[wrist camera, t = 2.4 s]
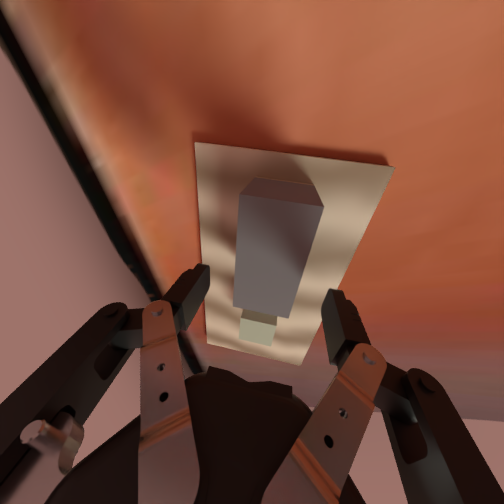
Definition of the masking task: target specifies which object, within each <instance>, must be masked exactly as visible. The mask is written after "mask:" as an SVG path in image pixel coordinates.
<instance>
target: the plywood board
mask: <svg viewBox="0 0 504 504" xmlns="http://www.w3.org/2000/svg"><path fill="white" fill-rule="evenodd" d="M195 158H196V173H197V189H198V205H199V221H200V236H201V252H202V264H206V265H209V266H210V288H209V290H208V292H207V294H206V296H205V298H204V299H205V315H206V331H207V343H209V344H213V345H217V346H221V347H225V348H229V349H233V350H238V351H242V352H246V353H250V354H254V355H258V356H262V357H266V358H270V359H275V360H279V361H283V362H287V363H291V364H295V365H299V366H300V365H301V363H302V361H303V359H304V357H305V355H306V353H307V351H308V348H309V346H310V344H311V342H312V340H313V338H314V336H315V334H316V332H317V330H318V328H319V326H320V323H321V321H322V317H321V306H322V303H323V301H324V299H325V296H326V294H327V292H328V289H329V288H332V289H337V288H338V286H339V284H340V282H341V280H342V278H343V276H344V274H345V271H346V269H347V267H348V265H349V263H350V261H351V259H352V257H353V255H354V253H355V251H356V249H357V246H358V244H359V242H360V240H361V238H362V236H363V234H364V232H365V230H366V228H367V226H368V224H369V222H370V219H371V217H372V215H373V213H374V211H375V209H376V207H377V205H378V203H379V201H380V199H381V197H382V194H383V192H384V190H385V188H386V186H387V184H388V182H389V180H390V178H391V176H392V174H393V172H394V170H395V167H392V166H388V165H380V164H372V163H364V162H356V161H348V160H340V159H332V158H324V157H316V156H308V155H300V154H292V153H284V152H276V151H268V150H260V149H252V148H244V147H236V146H228V145H220V144H212V143H204V142H195ZM256 176H257V177H264V178H271V179H279V180H286V181H293V182H300V183H307V184H314V185H315V188H316V190H317V192H318V194H319V196H320V199H321V201H322V203H323V205H324V210H323V213H322V216H321V219H320V222H319V225H318V228H317V231H316V235H315V238H314V241H313V244H312V247H311V250H310V253H309V256H308V259H307V263H306V266H305V269H304V272H303V275H302V278H301V281H300V284H299V287H298V291H297V294H296V297H295V300H294V303H293V306H292V309H291V312H290V316H289V319H288V318H283V317H278V316H277V326H276V330H275V334H274V337H273V341H272V345H271V346H266V345H262V344H258V343H254V342H249V341H245V340H241V339H239V329H240V319H241V315H242V311H243V309H242V308H237V307H233V292H234V275H235V258H236V241H237V224H238V206H239V194H240V193H241V192H242V191H243V189H244V188H245V187H246V186H247V185H248V184H249V183H250V182H251V181H252V180H253V179H254V178H255V177H256Z"/></svg>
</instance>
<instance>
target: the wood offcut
mask: <svg viewBox="0 0 504 504" xmlns="http://www.w3.org/2000/svg"><path fill="white" fill-rule="evenodd" d="M276 326H277V316H274V315H269V314H265V313H260V312H256V311H251V310H246V309H243V311H242V315H241V319H240V329H239V339H241V340H245V341H249V342H254V343H258V344H262V345H266V346H271V345H272V341H273V337H274V334H275V330H276Z"/></svg>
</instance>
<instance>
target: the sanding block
mask: <svg viewBox="0 0 504 504" xmlns="http://www.w3.org/2000/svg"><path fill="white" fill-rule="evenodd" d="M323 210H324V205H323V203H322V201H321V199H320V196H319V194H318V192H317V190H316V188H315V185H314V184H307V183H300V182H293V181H286V180H279V179H271V178H264V177H257V176H256V177H255V178H254V179H253V180H252V181H251V182H250V183H249V184H248V185H247V186H246V187H245V188H244V189H243V191H242V192H241V193H240V194H239V206H238V224H237V241H236V258H235V275H234V292H233V307H237V308H242V309H246V310H251V311H256V312H260V313H265V314H269V315H274V316H278V317H283V318H288V319H289V316H290V312H291V309H292V306H293V303H294V300H295V297H296V294H297V291H298V287H299V284H300V281H301V278H302V275H303V272H304V269H305V266H306V263H307V259H308V256H309V253H310V250H311V247H312V244H313V241H314V238H315V235H316V231H317V228H318V225H319V222H320V219H321V216H322V213H323Z"/></svg>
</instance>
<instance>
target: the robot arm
mask: <svg viewBox="0 0 504 504" xmlns="http://www.w3.org/2000/svg"><path fill="white" fill-rule="evenodd" d="M209 288H210V266H209V265H206V264H200V263H198V264H197V265H196V266H195V268H194V269H193V270H192V269H188V270H187V271H185V272H184V273H182V274H181V276H180V277H179V278H178V279H177V281H176V282H175V284H173V285H172V287H171V288H170V289H169V290H168V292H167V293H166V294H165V295H164V296H163V298H162V299H161V300H159V301H155V302H152V303H150V304H149V305H147V306H146V307H145V308H141V309H128V308H127V306H126V304H124V303H121V302H116V303H111V304H108V305H106V306H105V307H103V308H101V309H100V310H99V311H98V312H97V313H95V314H94V315H93V316H92V317H91V318H90V319H89V320H88V321H87V322H86V323H85V324H84V325H83V326H82V327H81V328H80V329H79V330H78V331H77V332H76V333H75V334H74V335H72V336H71V337H70V338H69V339H68V340H67V341H66V342H65V343H64V344H63V345H62V346H61V347H60V348H59V349H58V350H57V351H56V352H55V353H53V354H52V356H51V357H49V358H48V359H47V360H46V361H45V362H44V363H43V364H42V365H41V366H40V367H39V368H38V369H37V370H36V371H35V372H34V373H33V374H32V375H30V376H29V377H28V378H27V379H26V380H25V381H24V382H23V383H22V384H21V385H20V386H19V387H18V388H17V389H16V390H15V391H14V392H13V393H11V394H10V395H9V396H8V398H6V399H5V400H4V401H3V402H2V403H1V404H0V504H366V503H365V501H364V500H363V498H362V496H361V494H360V493H359V491H358V489H357V487H356V486H355V484H354V482H353V481H352V479H351V477H350V475H349V474H348V473H349V471H350V468H351V466H352V463H353V461H354V458H355V456H356V453H357V451H358V448H359V445H360V443H361V440H362V438H363V435H364V433H365V431H366V428H367V425H368V423H369V420H370V418H371V415H372V413H373V410H374V407H375V406H376V407H378V408H380V409H381V412H382V415H383V418H384V422H385V426H386V429H387V432H388V436H389V439H390V442H391V446H392V449H393V453H394V456H395V460H396V463H397V467H398V470H399V473H400V477H401V481H402V484H403V487H404V491H405V494H406V498H407V501H408V504H504V493H503V491H502V489H501V487H500V485H499V484H498V482H497V480H496V478H495V477H494V475H493V473H492V472H491V470H490V468H489V466H488V465H487V463H486V461H485V459H484V458H483V456H482V454H481V452H480V451H479V449H478V447H477V446H476V444H475V442H474V440H473V439H472V437H471V435H470V433H469V431H468V430H467V428H466V426H465V424H464V423H463V421H462V419H461V417H460V416H459V414H458V412H457V410H456V409H455V407H454V405H453V403H452V402H451V400H450V398H449V396H448V395H447V393H446V391H445V390H444V388H443V387H442V385H441V384H440V383H439V382H438V381H437V380H436V379H435V378H434V377H433V376H431V375H430V374H428V373H427V372H425V371H423V370H420V369H417V368H412V369H410V370H409V371H407V372H406V371H404V370H402V369H399V368H397V367H395V366H393V365H391V364H390V363H388V362H386V360H385V358H384V357H383V355H382V354H381V353H380V352H379V351H378V350H377V349H376V348H374V347H373V346H371V343H370V341H369V338H368V336H367V333H366V331H365V328H364V326H363V323H362V322H361V318H360V316H359V313H358V311H357V308H356V306H355V305H354V304H353V303H352V302H351V301H350V300H346V298H345V295H344V292H343V291H342V290H337V289H332V288H329V289H328V292H327V294H326V296H325V299H324V301H323V303H322V306H321V317H322V323H323V328H324V334H325V339H326V345H327V351H328V356H329V362H330V364H331V365H335V366H337V368H338V373H337V374H336V376H335V377H334V379H333V380H332V382H331V383H330V385H329V387H328V388H327V390H326V391H325V393H324V394H323V396H322V397H321V399H320V401H319V402H318V404H317V405H316V407H315V408H314V410H313V411H311V410H310V409H309V407H308V406H307V405H306V404H305V403H304V402H303V401H302V400H301V399H299V398H298V397H297V396H295V395H294V394H292V386H288V385H284V384H280V383H276V382H272V381H266V382H247V381H245V380H244V379H242V378H240V377H239V376H237V375H235V374H233V373H232V372H230V371H227V370H223V369H219V368H215V367H211V366H209V368H208V371H207V372H205V373H199V374H196V375H193V376H191V377H189V378H187V379H185V376H184V371H183V366H182V360H181V355H180V349H179V344H178V338H177V334H178V332H179V331H180V329H181V330H185V331H186V330H187V329H188V327H189V325H190V323H191V321H192V320H193V318H194V316H195V314H196V312H197V310H198V309H199V307H200V305H201V303H202V301H203V300H204V298H205V296H206V294H207V292H208V290H209ZM135 348H140V395H141V396H140V405H141V406H140V411H141V412H140V413H141V414H140V415H139V416H137V417H136V418H135V419H134V420H132V421H131V422H130V423H128V424H127V425H126V426H125V427H123V428H122V429H121V430H120V431H118V432H117V433H116V434H114V435H113V436H112V437H111V438H109V439H108V440H107V441H106V442H104V443H103V444H102V445H101V446H99V447H98V448H97V449H95V450H94V451H93V452H92V453H90V454H89V455H88V456H87V457H85V458H84V459H83V460H82V461H80V462H79V463H78V464H77V465H76V466H74V467H73V468H72V465H73V461H74V458H75V456H76V454H77V452H78V449H79V448H80V446H81V444H82V441H83V438H84V428H83V424H84V423H85V421H86V420H87V418H88V417H89V415H90V414H91V413H92V411H93V409H94V408H95V407H96V405H97V404H98V402H99V401H100V399H101V398H102V396H103V395H104V393H105V392H106V391H107V389H108V388H109V386H110V385H111V383H112V382H113V380H114V379H115V377H116V376H117V374H118V373H119V371H120V370H121V369H122V367H123V366H124V364H125V363H126V361H127V360H128V358H129V357H130V355H131V354H132V352H133V351H134V350H135Z"/></svg>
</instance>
